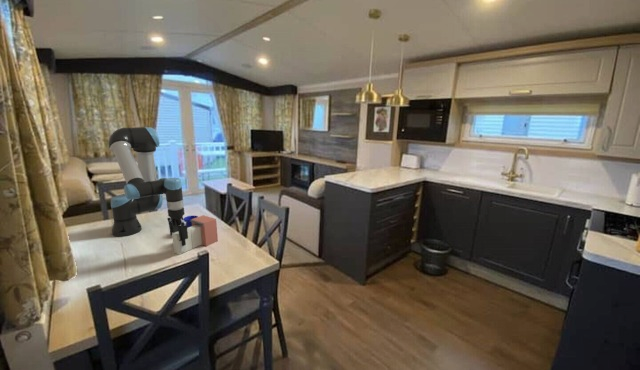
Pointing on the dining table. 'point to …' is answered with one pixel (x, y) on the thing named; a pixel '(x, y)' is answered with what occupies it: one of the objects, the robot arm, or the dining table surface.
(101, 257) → the dining table surface
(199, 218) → the dispenser
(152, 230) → the dining table surface
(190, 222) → the mug
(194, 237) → the white double cube block
